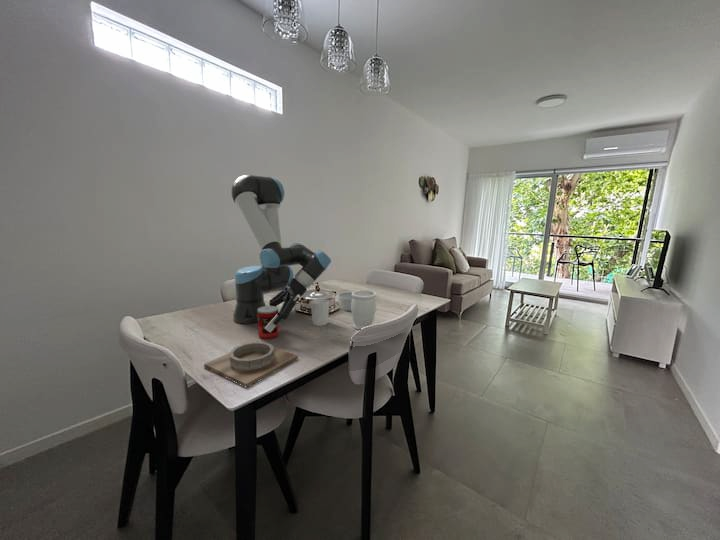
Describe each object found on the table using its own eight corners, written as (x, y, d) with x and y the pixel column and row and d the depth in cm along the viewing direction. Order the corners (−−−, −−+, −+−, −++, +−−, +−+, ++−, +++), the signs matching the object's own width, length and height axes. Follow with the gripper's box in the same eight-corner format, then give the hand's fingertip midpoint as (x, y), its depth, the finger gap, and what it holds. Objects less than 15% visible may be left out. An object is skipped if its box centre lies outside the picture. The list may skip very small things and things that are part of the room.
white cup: (330, 320, 133) (330, 299, 131) (327, 326, 125) (327, 304, 123) (313, 319, 134) (313, 298, 132) (309, 325, 126) (308, 303, 124)
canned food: (269, 330, 120) (268, 304, 118) (283, 334, 116) (282, 307, 114) (254, 336, 114) (252, 309, 112) (268, 341, 110) (267, 313, 108)
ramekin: (363, 312, 145) (363, 299, 144) (337, 312, 145) (337, 298, 144) (362, 304, 158) (363, 292, 157) (338, 304, 158) (338, 291, 157)
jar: (363, 320, 133) (364, 289, 131) (380, 327, 126) (381, 293, 123) (345, 326, 126) (346, 292, 123) (362, 333, 119) (363, 298, 116)
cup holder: (204, 367, 90) (203, 354, 89) (257, 344, 107) (256, 333, 106) (246, 388, 80) (245, 373, 79) (297, 358, 96) (297, 347, 96)
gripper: (317, 296, 108) (278, 341, 104) (298, 282, 130) (264, 319, 126) (303, 283, 105) (262, 330, 101) (285, 271, 127) (251, 309, 122)
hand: (263, 324), depth 113 cm, fingers open, 13 cm apart
